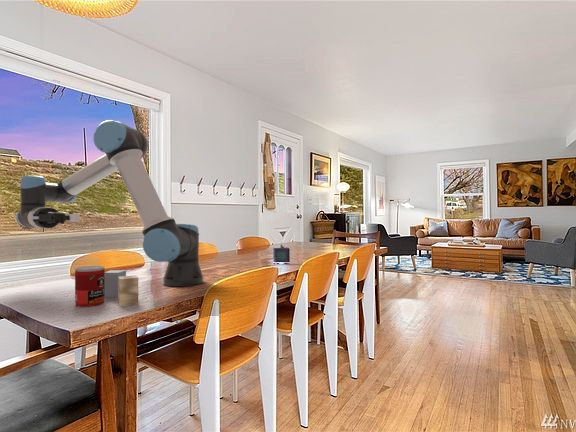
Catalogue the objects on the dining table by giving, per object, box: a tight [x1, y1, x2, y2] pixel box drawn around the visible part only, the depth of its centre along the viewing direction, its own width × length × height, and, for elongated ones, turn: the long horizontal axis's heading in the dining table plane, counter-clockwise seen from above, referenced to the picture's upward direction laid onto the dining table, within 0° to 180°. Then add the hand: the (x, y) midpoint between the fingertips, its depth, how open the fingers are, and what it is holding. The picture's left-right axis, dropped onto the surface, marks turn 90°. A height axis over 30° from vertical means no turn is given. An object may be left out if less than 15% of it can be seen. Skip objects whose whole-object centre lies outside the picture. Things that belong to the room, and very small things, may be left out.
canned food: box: [74, 265, 106, 308], centre depth 103 cm, size 8×8×11 cm
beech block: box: [117, 274, 139, 307], centre depth 104 cm, size 5×5×8 cm
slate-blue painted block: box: [105, 269, 127, 298], centre depth 115 cm, size 5×5×8 cm
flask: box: [272, 244, 291, 263], centre depth 190 cm, size 9×3×11 cm, turn 84°
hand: (77, 217), depth 110 cm, fingers closed
